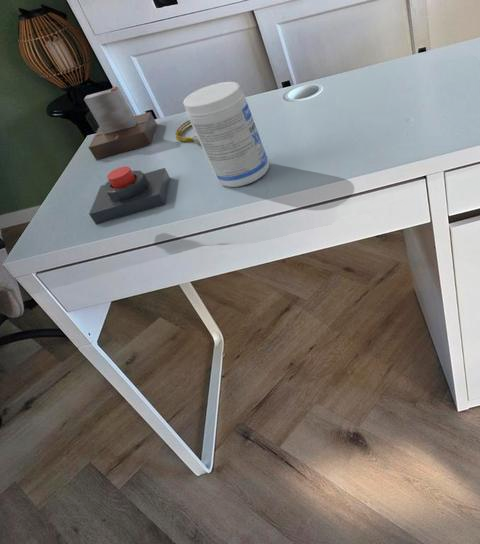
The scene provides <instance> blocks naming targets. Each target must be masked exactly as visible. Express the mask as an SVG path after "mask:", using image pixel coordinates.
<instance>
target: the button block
mask: <svg viewBox="0 0 480 544" xmlns="http://www.w3.org/2000/svg"><path fill="white" fill-rule="evenodd" d="M132 172H133V174H134V176H135V177H136V180H134V181H133V182H132V183H131V184H129V185H127V186H125V187H121V188H113V186H112V185H111V183H110V182H109V180H108V181H107V182H105V184H102V185H100V187H99V189H98V191H97V194H96V195H95V198H94V201H93V204H92V205H91V209H90V211H89V213H88V215H89V217H90V218H91V219H92V221H93V222H94V224H95V225H99V224H102V223H106V222H111V221H113V220H117V219H120V218H124V217H128V216H131V215H134V214H138V213H141V212H145V211H149V210H152V209H156V208H158V207H162V206H165V205H166V202H167V197H168V192H169V186H170V182H171V181H170V180H171V176H170V174H169V173H168V171H167V169H166V167H162V168H159V169H155V170H152V171H147V172H143V171H141V170H132Z"/></svg>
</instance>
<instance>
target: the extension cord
mask: <svg viewBox="0 0 480 544" xmlns="http://www.w3.org/2000/svg"><path fill="white" fill-rule="evenodd" d="M191 127H193V126H192V124H191V122H190V120H187V121H185V122H183V123H182V124H181V125H180V126H179V127H178V128H177V129H176V131H175V139H176V140H177V141H179V142H184V143H193V142H194V143H196V144H199V145H200V146H201V144H200V141H199V139H198V137H197V135H196V136H195V135H194V136H193V137H186V136H181V135H182V134H183V133H184V132H185V131H187V130H188V129H190V128H191Z"/></svg>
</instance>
